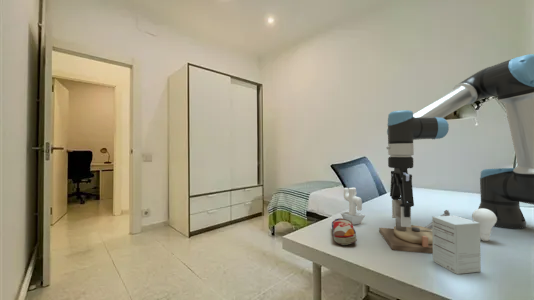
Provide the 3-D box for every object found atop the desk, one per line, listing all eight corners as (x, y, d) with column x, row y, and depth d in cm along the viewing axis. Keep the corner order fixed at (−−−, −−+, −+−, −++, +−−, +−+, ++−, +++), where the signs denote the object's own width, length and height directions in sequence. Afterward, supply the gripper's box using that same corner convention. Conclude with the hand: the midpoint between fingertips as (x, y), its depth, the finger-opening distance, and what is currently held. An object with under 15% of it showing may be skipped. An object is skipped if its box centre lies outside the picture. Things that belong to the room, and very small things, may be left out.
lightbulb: (473, 236, 84) (473, 205, 84) (497, 240, 80) (497, 208, 80) (471, 240, 80) (471, 208, 80) (496, 246, 75) (496, 211, 75)
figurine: (353, 227, 95) (353, 190, 95) (338, 220, 104) (338, 186, 104) (367, 224, 98) (367, 188, 98) (351, 218, 107) (351, 185, 107)
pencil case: (321, 243, 79) (321, 228, 79) (333, 226, 96) (333, 214, 96) (355, 250, 74) (355, 234, 74) (362, 230, 91) (362, 218, 91)
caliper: (447, 224, 98) (447, 209, 98) (450, 225, 97) (450, 209, 97) (419, 233, 88) (419, 216, 88) (422, 234, 87) (422, 217, 87)
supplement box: (454, 259, 67) (454, 214, 67) (481, 272, 59) (481, 222, 59) (431, 260, 66) (431, 215, 66) (456, 274, 58) (455, 224, 58)
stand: (435, 235, 85) (435, 231, 85) (463, 255, 69) (463, 250, 69) (379, 231, 90) (379, 227, 90) (392, 250, 73) (392, 245, 73)
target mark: (426, 245, 72) (426, 236, 72) (428, 247, 71) (428, 237, 71) (422, 245, 73) (422, 235, 73) (423, 247, 72) (423, 237, 72)
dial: (428, 231, 84) (428, 198, 84) (447, 246, 71) (447, 206, 71) (389, 229, 87) (389, 196, 87) (400, 242, 74) (400, 204, 74)
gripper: (380, 155, 92) (381, 213, 92) (398, 157, 71) (399, 232, 71) (401, 155, 90) (402, 214, 90) (426, 157, 69) (427, 233, 69)
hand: (400, 222), depth 80 cm, fingers open, 9 cm apart
